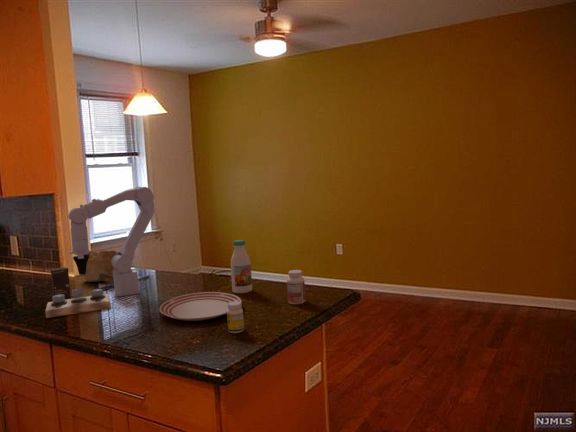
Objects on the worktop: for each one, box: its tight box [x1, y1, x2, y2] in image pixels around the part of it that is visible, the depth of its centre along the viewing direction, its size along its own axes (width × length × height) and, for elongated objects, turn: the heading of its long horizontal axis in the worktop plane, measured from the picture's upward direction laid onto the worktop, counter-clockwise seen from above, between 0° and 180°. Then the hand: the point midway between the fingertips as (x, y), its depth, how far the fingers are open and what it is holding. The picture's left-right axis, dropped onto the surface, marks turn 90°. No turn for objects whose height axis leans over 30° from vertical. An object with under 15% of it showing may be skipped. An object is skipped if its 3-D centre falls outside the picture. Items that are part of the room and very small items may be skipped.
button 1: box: [52, 294, 66, 303], centre depth 170 cm, size 4×4×2 cm
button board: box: [44, 293, 112, 319], centre depth 172 cm, size 21×12×3 cm, turn 113°
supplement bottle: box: [226, 301, 245, 334], centre depth 140 cm, size 5×5×8 cm
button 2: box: [90, 288, 104, 297], centre depth 175 cm, size 4×4×2 cm
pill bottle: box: [286, 269, 306, 305], centre depth 165 cm, size 6×6×11 cm
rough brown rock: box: [82, 250, 118, 285], centre depth 213 cm, size 23×17×15 cm
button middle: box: [71, 287, 85, 298], centre depth 173 cm, size 4×4×2 cm
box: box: [50, 266, 72, 299], centre depth 188 cm, size 6×4×12 cm
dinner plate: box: [158, 291, 242, 322], centre depth 161 cm, size 27×27×3 cm
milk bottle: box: [230, 239, 253, 294], centre depth 183 cm, size 8×8×20 cm
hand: (82, 274), depth 181 cm, fingers closed
